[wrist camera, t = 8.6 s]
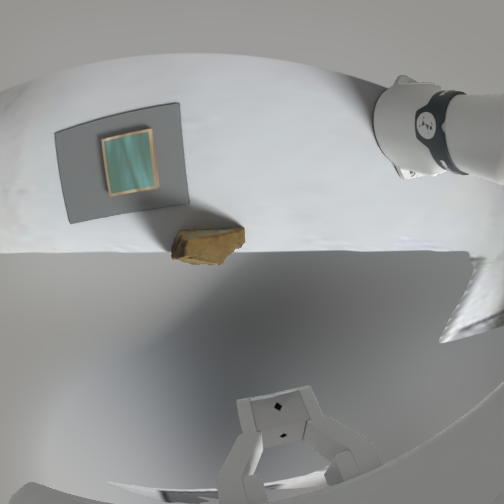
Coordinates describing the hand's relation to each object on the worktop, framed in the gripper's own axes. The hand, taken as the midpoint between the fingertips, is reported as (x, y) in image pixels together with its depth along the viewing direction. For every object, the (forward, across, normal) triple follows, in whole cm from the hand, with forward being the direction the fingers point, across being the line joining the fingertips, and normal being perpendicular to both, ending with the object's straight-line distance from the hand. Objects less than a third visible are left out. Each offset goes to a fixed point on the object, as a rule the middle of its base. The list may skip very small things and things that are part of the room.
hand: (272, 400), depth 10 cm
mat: (+31, +14, -8) cm, 35 cm away
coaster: (+30, +8, -8) cm, 32 cm away
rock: (+31, +2, +5) cm, 32 cm away
